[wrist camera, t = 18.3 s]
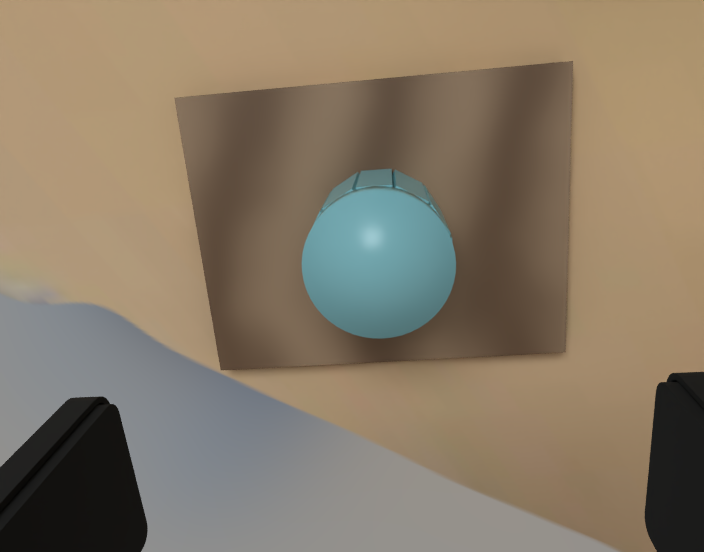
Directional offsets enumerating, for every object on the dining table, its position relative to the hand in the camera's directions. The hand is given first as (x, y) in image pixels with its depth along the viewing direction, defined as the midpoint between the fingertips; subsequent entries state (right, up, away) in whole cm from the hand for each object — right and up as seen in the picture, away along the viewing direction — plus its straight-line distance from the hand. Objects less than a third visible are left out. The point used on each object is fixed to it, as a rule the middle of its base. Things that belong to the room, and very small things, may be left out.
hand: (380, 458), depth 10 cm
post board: (+1, +6, +19) cm, 20 cm away
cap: (+1, +5, +18) cm, 19 cm away
